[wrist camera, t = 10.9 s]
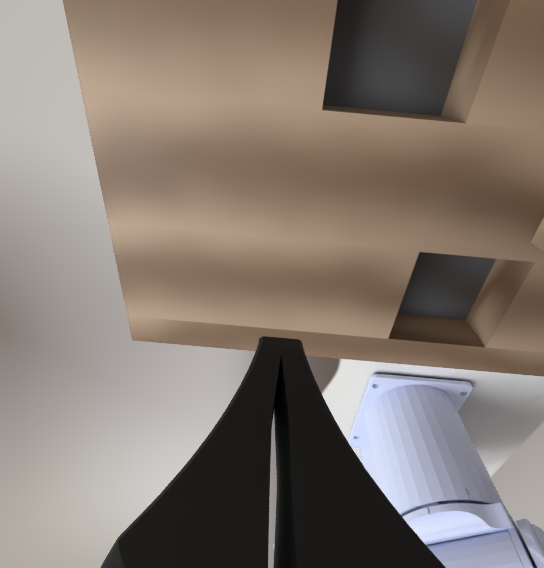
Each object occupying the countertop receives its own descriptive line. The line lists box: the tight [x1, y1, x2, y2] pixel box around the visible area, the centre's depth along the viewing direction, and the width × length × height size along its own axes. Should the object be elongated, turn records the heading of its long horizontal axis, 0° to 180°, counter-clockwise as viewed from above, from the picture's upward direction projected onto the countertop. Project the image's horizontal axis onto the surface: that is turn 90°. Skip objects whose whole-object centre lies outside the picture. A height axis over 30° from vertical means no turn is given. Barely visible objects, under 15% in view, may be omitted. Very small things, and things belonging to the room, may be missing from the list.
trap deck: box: [63, 0, 544, 376], centre depth 17 cm, size 22×28×3 cm
